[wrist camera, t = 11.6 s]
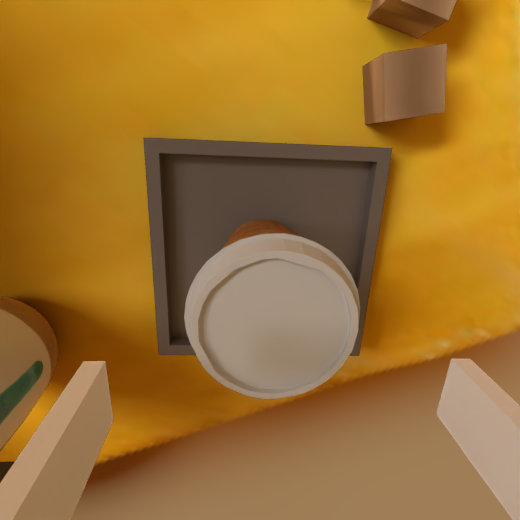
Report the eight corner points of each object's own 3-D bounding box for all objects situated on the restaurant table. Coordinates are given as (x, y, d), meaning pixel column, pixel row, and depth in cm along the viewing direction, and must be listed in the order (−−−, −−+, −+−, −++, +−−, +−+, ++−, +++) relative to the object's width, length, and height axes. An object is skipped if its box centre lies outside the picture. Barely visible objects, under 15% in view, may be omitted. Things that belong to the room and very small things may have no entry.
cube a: (364, 124, 26) (385, 121, 22) (362, 66, 25) (384, 53, 21) (415, 116, 26) (444, 112, 22) (415, 58, 25) (447, 43, 21)
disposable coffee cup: (340, 257, 29) (404, 332, 18) (258, 325, 31) (267, 433, 19) (266, 172, 26) (284, 197, 15) (180, 253, 28) (139, 329, 17)
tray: (163, 342, 32) (158, 354, 30) (150, 137, 26) (143, 137, 24) (352, 343, 33) (359, 355, 31) (381, 147, 27) (392, 148, 25)
